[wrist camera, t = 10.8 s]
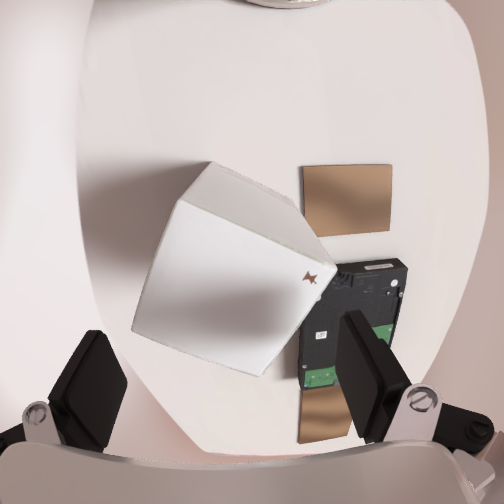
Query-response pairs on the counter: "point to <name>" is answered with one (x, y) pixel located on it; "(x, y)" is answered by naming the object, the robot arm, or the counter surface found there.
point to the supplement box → (232, 273)
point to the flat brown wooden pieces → (330, 224)
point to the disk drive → (346, 299)
